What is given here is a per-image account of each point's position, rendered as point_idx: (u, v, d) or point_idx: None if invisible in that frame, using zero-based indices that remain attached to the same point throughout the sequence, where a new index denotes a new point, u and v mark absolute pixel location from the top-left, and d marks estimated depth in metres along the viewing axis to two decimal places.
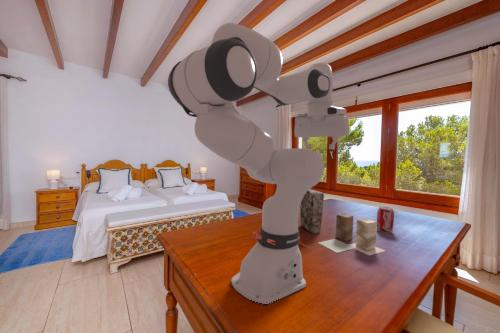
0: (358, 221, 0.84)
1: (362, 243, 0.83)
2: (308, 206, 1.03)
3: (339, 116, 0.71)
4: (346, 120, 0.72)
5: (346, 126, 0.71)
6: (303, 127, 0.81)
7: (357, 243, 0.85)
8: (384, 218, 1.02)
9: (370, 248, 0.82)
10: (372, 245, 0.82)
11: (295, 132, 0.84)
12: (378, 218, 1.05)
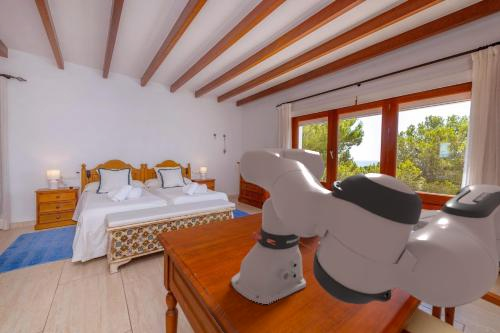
0: None
1: None
2: None
3: None
4: None
5: None
6: None
7: None
8: None
9: None
10: None
11: None
12: None
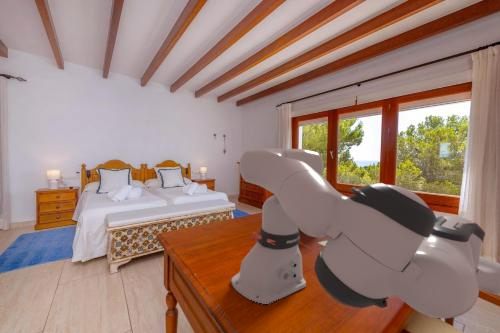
0: None
1: None
2: None
3: None
4: None
5: None
6: None
7: None
8: None
9: None
10: None
11: None
12: None
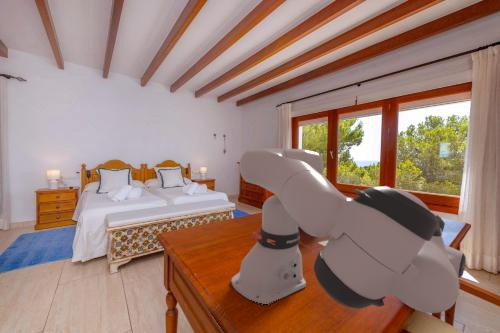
0: None
1: None
2: None
3: None
4: None
5: None
6: None
7: None
8: None
9: None
10: None
11: None
12: None
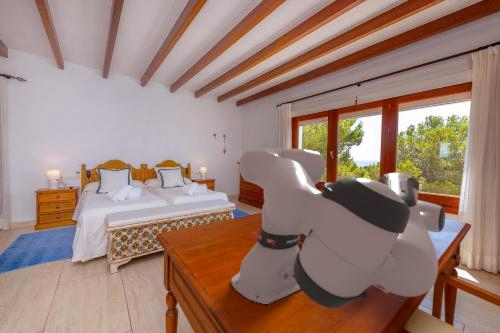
0: None
1: None
2: None
3: None
4: None
5: None
6: None
7: None
8: None
9: None
10: None
11: None
12: None
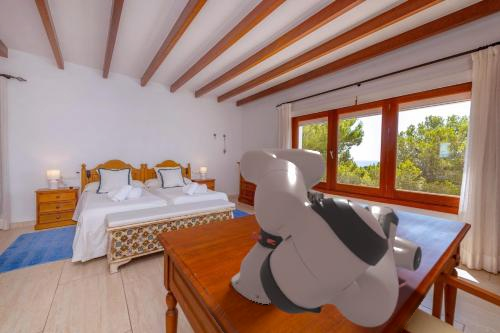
0: None
1: None
2: None
3: None
4: None
5: None
6: None
7: None
8: None
9: None
10: None
11: None
12: None
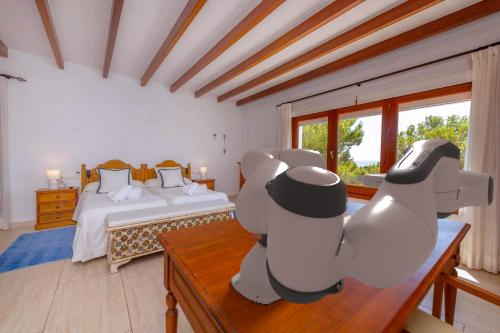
0: None
1: None
2: None
3: None
4: None
5: None
6: None
7: None
8: None
9: None
10: None
11: (368, 186, 0.64)
12: None
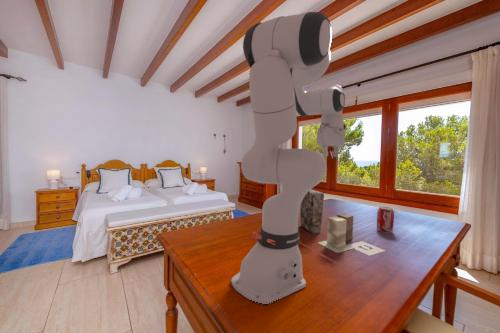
0: (329, 219, 0.86)
1: (332, 240, 0.84)
2: (308, 206, 1.03)
3: (344, 131, 0.95)
4: None
5: None
6: (328, 135, 0.86)
7: (328, 241, 0.86)
8: (384, 218, 1.02)
9: (340, 245, 0.83)
10: (341, 243, 0.84)
11: (325, 139, 0.84)
12: (378, 218, 1.05)
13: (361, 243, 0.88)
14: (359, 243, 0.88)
